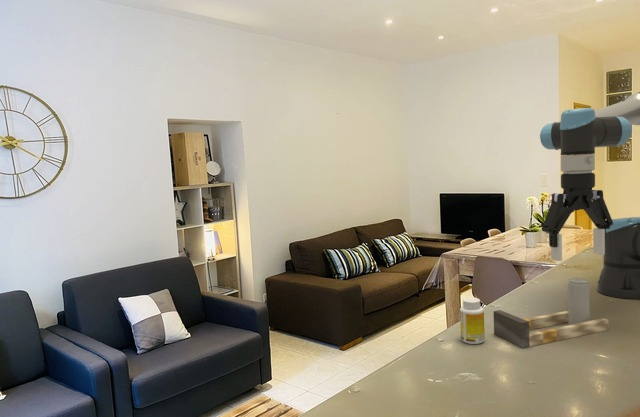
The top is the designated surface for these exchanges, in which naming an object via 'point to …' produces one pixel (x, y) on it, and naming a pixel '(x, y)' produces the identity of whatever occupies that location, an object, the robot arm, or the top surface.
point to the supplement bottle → (472, 321)
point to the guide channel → (519, 328)
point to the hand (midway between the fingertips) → (578, 257)
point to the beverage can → (578, 300)
